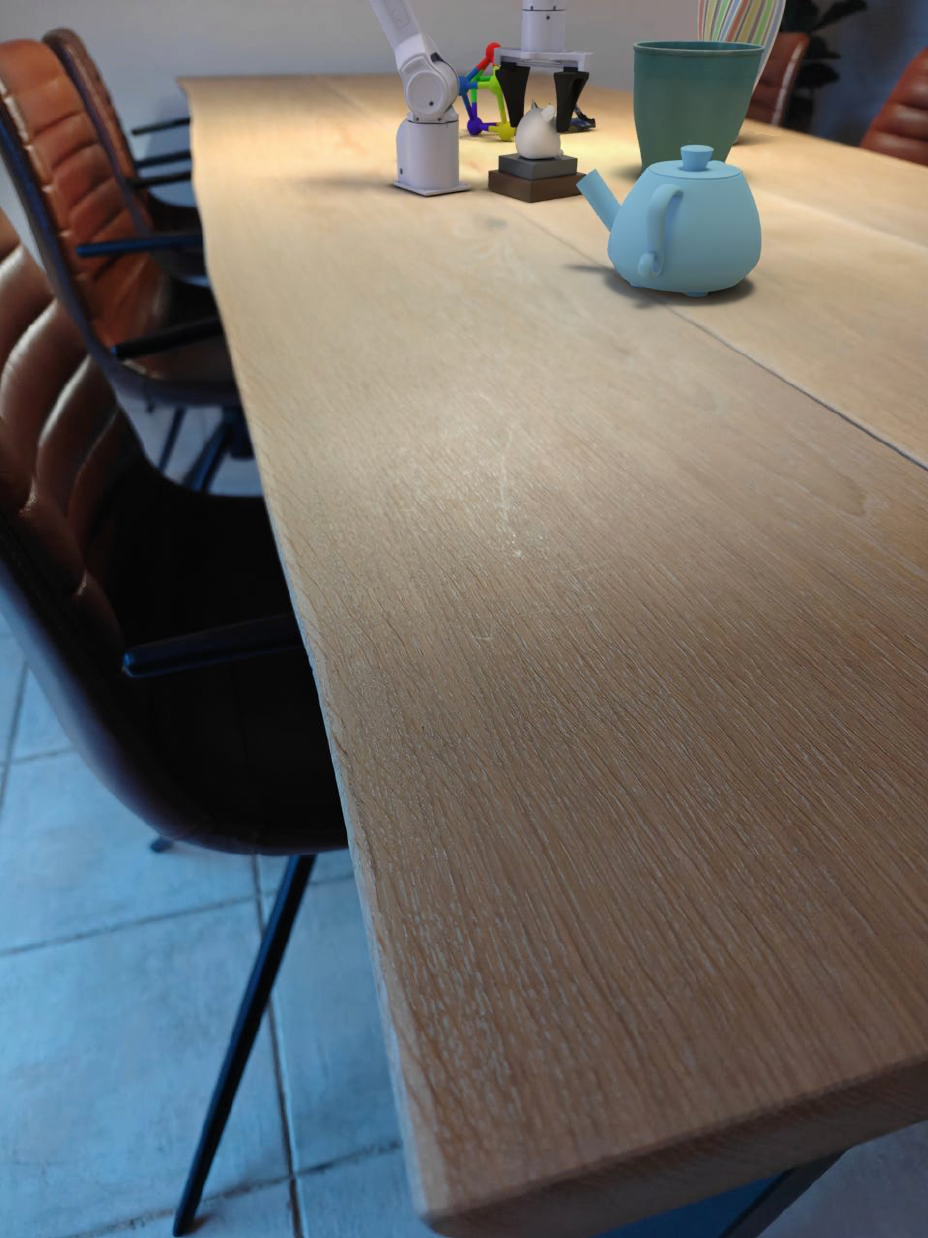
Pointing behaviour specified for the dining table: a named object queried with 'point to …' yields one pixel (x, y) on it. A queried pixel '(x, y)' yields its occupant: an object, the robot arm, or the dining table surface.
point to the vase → (741, 24)
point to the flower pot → (691, 95)
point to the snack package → (579, 120)
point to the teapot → (681, 224)
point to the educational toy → (474, 83)
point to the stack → (535, 177)
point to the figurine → (538, 134)
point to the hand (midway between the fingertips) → (539, 129)
